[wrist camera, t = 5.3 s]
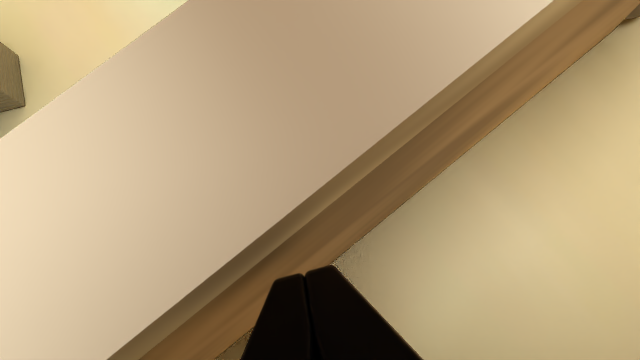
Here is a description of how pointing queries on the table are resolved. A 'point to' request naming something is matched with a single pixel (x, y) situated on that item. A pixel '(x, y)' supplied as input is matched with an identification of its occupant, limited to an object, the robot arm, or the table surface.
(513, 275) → the table surface
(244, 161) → the gate leaf
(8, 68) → the post
